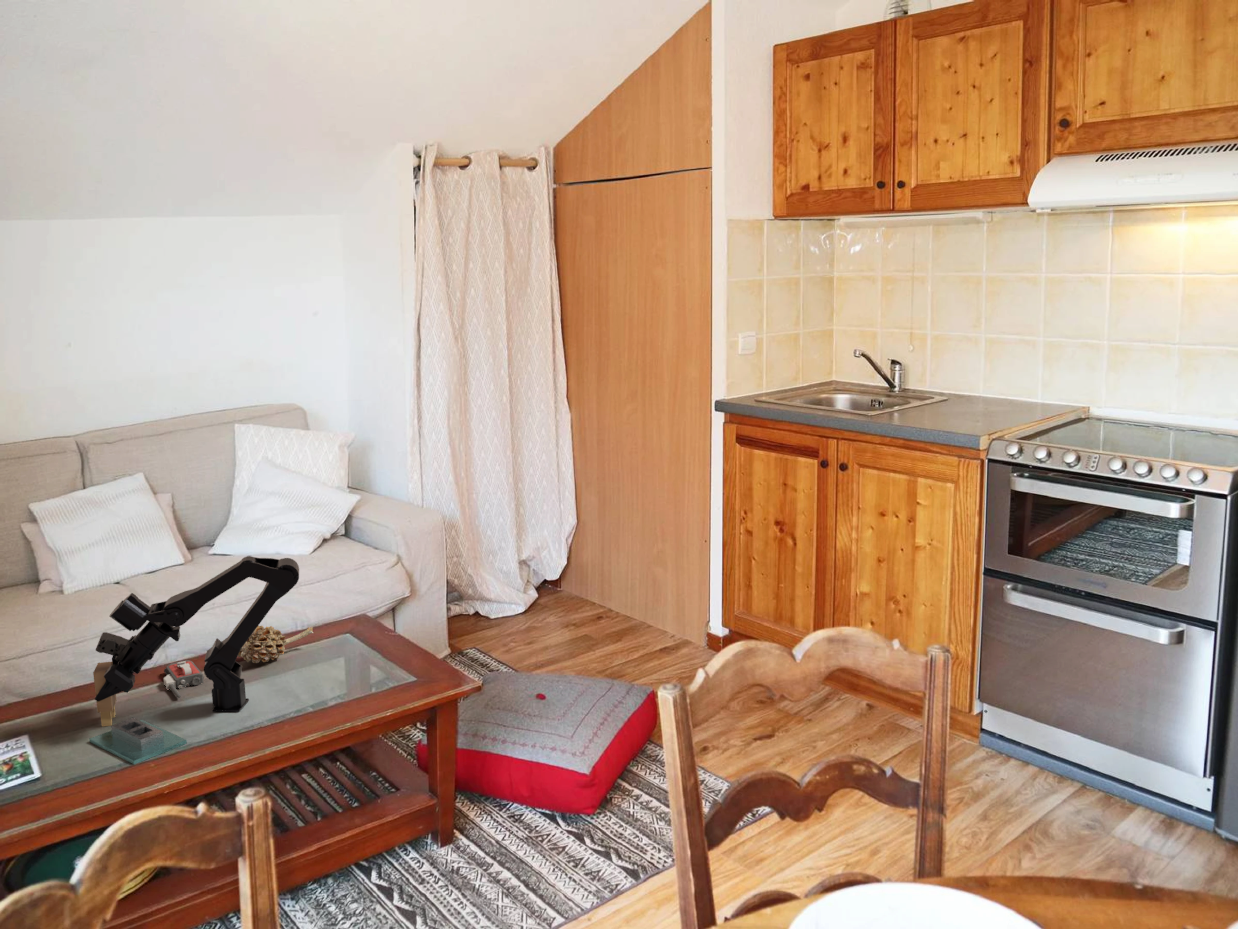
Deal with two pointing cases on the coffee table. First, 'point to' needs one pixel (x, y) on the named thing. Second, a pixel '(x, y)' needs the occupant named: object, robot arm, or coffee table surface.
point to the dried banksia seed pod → (267, 644)
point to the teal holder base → (137, 740)
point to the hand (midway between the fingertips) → (99, 694)
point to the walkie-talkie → (182, 676)
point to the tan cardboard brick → (108, 704)
